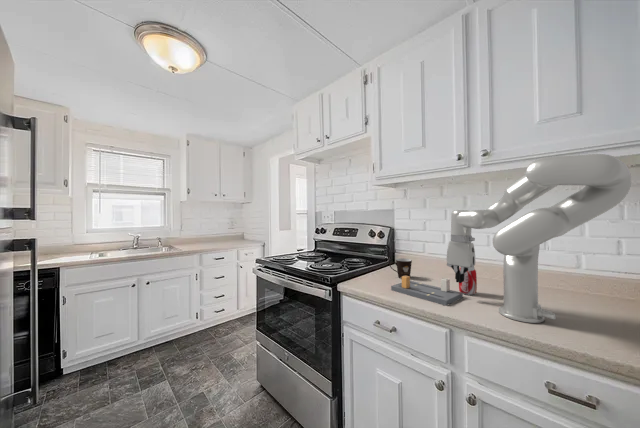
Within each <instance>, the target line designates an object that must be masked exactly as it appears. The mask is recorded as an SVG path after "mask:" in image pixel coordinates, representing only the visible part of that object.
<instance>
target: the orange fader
mask: <svg viewBox="0 0 640 428" xmlns="http://www.w3.org/2000/svg"><path fill="white" fill-rule="evenodd" d="M410 281H411V275H410V276H402V278H401V283H402V287H403V288H409V287H410Z"/></svg>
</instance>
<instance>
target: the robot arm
mask: <svg viewBox="0 0 640 428" xmlns="http://www.w3.org/2000/svg"><path fill="white" fill-rule="evenodd" d="M557 186H584V187H583V188H582V189H580V190H579V191H576V192H575V193H573V194H571V195H569V196H567V197H566V198H565V199H563V200H560V201H558V202H557V203H556V204H553V205H552V206H549V207H541V208H537V209H534V210H531V211H528V212H527V213H525V214H524V215H522V216H520V217H519V218H517V219H515V220H513V221H512V222H510V223H509V224H507V225H505V226H503V227H502V228H499V230H497V231H496V232H495V233H494V235H493V238H492V245H493V247H494V249H495V251H497V253H499V254H501V255H502V256H503V262H502V263H503V264H502V265H503V269H502V270H503V271H502V275H503V281H502V283H503V305H502V306H499V307H498V313H499V314H500V315H502V316H504V317H506V318H508V319H511V320H514V321H517V322H522V323H523V322H524V323H531V324H538V323H543V322H545V318H546V319H550V320H553V321H556V317H557V316H556V313H553V311H550V310H546V309H544V308H542V304H539V253H540V245H542V244H543V243H546V242H547V241H550V240H552V239H554V238H559V237H561V236H563V235H566V234H567V233H568V232H570V231H572V230H574V229H575V228H578V227H580V226H582V225H584V224H586V223H588V222H590V221H591V220H593V219H595V218H597V217H599V216H601V215H602V214H605V213H607V212H609V211H610V210H612V209H613V208H615V207H616V206H617V205H619V204H620V203H622V202H623V200H624V199H625V198H626V197H627V196H628V194H629V192H630V190H631V187H632V175H631V171H630V169H629V166H627V164H626V163H625V162H624V161H622V160H621V159H619V158H617V157H616V156H614V155H610V154H606V153H595V154H594V153H591V154H581V155H580V154H578V155H577V154H576V155H562V156H546V157H541V158H538V159H535V160H534V161H532V162H530V164H529V165H528V166H527V167H526V169H525V174H524V175H522V176H521V177H520V178H518V179H517V180H515V181H514V182H512V183H511V184H510V185H508V186H506V188H505V189H504V192H503V195H502V197H501V198H500V199H499V200H498V201H497V202H495V203H494V204H492V205H491V206H489V207H488V208H486V209H475V210H474V209H473V210H469V209H468V210H467V209H465V210H464V209H456V210H455V209H454V210H452V212H451V214H450V215H451V216H450V219H451V220H450V240H449V241H448V245H447V249H446V266H447V267H449V268H450V269H452V270H453V272H454V273H455V274H454V275H455V277H454V280H455V282H456V283H458V284H459V283H462V282H463V281H464V273H466V272H467V271H473V270H476V269H475V268H474V267H475V266H476V250H475V244H474V243H473V242H475V240H476V238H475V237H473V236H472V229H474V230H484V229H491V228H494V227H497V226H499V225H500V224H502V223H503V222H505V221H507V220H508V219H510V218H512V217H513V216H515V214H517V213H518V212H519V211H521V210H522V209H523V208H524V207H525V206H527V205H529V204H531V203H532V202H533V201H536V200H537V199H538V198H539V197H541V196H543V195H544V194H546V193H548V192H550V191H551V190H553V189H554V188H556V187H557ZM460 266H461V269H460Z"/></svg>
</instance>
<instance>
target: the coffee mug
mask: <svg viewBox="0 0 640 428" xmlns="http://www.w3.org/2000/svg"><path fill="white" fill-rule="evenodd" d="M412 263H413V260H412V259H410V258H396V259H395V261H391V262H390V263H389V267H390V269H392V270H393V271H394V272H396V273H397V277H398V278H399V279H402V276H410V277H411V271H412ZM392 264H395V266H396V269H397V270H395V268H393V267H392Z"/></svg>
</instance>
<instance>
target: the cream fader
mask: <svg viewBox="0 0 640 428" xmlns="http://www.w3.org/2000/svg"><path fill="white" fill-rule="evenodd" d="M450 283H451V280H450V278H445V277H444V278H443V277H442V278H440V288H441V291H445V292H447V291H449V290H451V289H450V288H451V287H450V285H451V284H450Z"/></svg>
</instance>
